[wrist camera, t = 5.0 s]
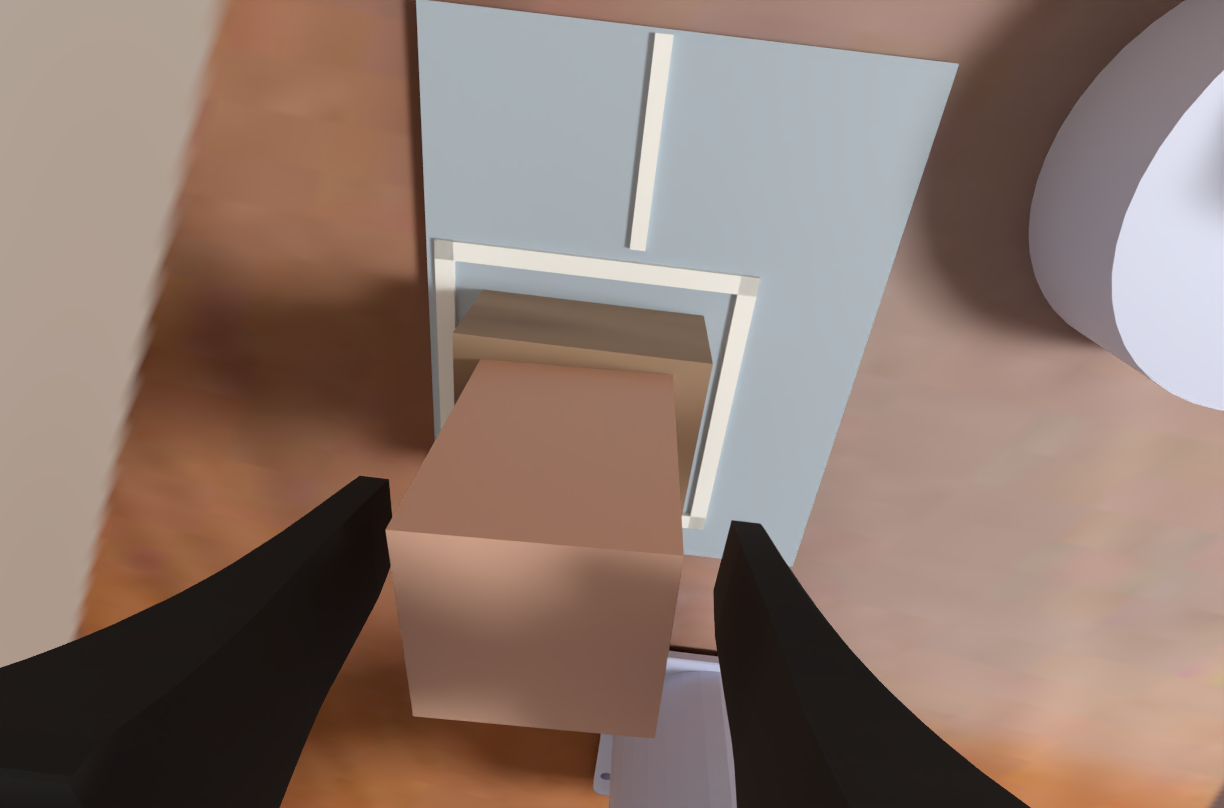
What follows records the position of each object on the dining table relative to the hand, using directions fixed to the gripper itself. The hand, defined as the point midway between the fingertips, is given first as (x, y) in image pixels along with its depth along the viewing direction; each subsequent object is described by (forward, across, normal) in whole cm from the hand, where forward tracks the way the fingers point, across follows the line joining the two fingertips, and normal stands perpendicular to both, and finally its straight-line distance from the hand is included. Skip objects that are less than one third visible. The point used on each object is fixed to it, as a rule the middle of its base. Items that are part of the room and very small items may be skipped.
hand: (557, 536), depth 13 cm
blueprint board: (+6, -2, -2) cm, 7 cm away
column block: (+3, 0, 0) cm, 3 cm away
